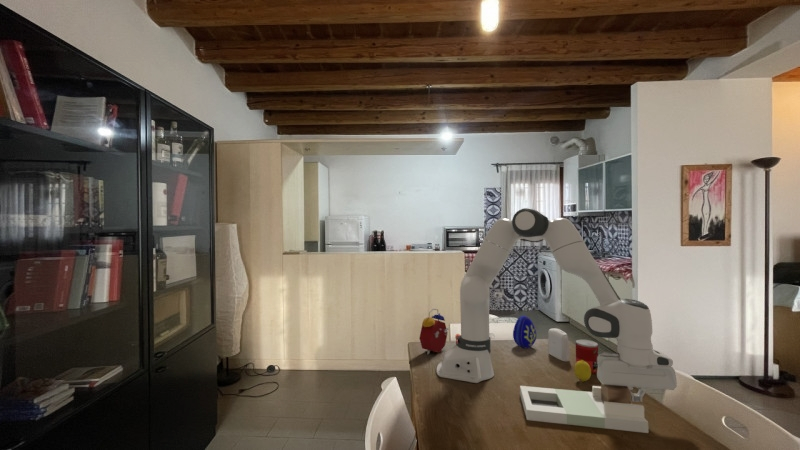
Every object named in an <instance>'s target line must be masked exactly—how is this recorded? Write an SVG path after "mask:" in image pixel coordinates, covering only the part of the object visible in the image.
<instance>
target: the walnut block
mask: <svg viewBox="0 0 800 450" xmlns="http://www.w3.org/2000/svg"><path fill="white" fill-rule="evenodd" d="M600 387H601V399H602V401H603V403H604V402H615V403H626V404H631V403H632V401H631V391H632V390H631V391H630V390H629V389H628V388H627V387H626V386H616V385H604V384H602V383H601V382H600Z"/></svg>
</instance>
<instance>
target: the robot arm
mask: <svg viewBox="0 0 800 450" xmlns="http://www.w3.org/2000/svg"><path fill="white" fill-rule="evenodd" d="M518 241H523V242H530V243H540V242H543V241H545V242H546V243H547V245H548V247H549V250H550V251H551V254H552V256H553V258H554V260H555V262H556V263H557V265H558V266H559V267H560V268H561V270H563V271H564V272H566V273H568V274H571V275H575V276H576V277H579V278H580V279H582V280H583V281H585V282H586V283H587V284H588V286H589V287H590V289H591V292H592V293H593V294H594V296H595V298H596V299H597V301H598V302H599V305H597V306H594V307H591V308H589V309H588V310H587V311H585V313H584V315H583V323H584V326H585V328H586V330H587V332H589V333H590V334H592V335H593V336H595V337H597V338H604V339H616V343H617V344H616V345H617V350H616V351H617V352H601V353H598V356H597V364H598V369H597V373H596V378H597V380H598V381H599V382H600V384H601V383H602V384H604V385H616V386H626V387H627V388H628V389H629V390H630V391H631V402H638V403H643V397H644V396H645V394H647V389H653V390H654V389H655V390H667V391H674V390H675V389H676V388H677V385H678V382H677V374H676V371H675V370H676V369H674V367H673V365H674V361H673V359H672V358H671V357H669V356H668V355H667V354H665V353H663V352H661V351H659V350H656V349H653V348H654V346H653V343H652V335H653V319H652V314H651V310H650V307H649V306H648V305H647V304H646V303H643V302H641V301H639V300H636V299H632V298H631V299H630V298H621V297H620V296H619V295H618V293H617V291H616V290H615V288H614V287H613V285H612V283H611V282H610V280H609V279H608V277H607V275H606V273H605V272H604V270H603V269H602V267H601V266H600V265H599V264H598V262H597V261H596V260H595V258H594V257H593V255H592V254H591V252H590V250H589V248H588V246H587V244H586V242H585V241H584V239H583V237H582V235H581V233H580V232H579V230H578V229H577V228H576V226H575V225H574V223H573V222H572V221H571V220H570V219H568V218H565V217H557V218H554V219H552V220H549V218H548V217H547V216H546V215H544V214H543V213H541V212H540V211H538V210H536V209H534V208H530V207H527V208H525V207H524V208H521V209H519V210H517V211H516V212H515V213H514V214H513V216H512V220H511V219H508V218H499V219H497V220H495V222H494V223H493V225H492V226H491V227H490V229H489V230H488V232H487V233H486V235H485V237H484V239H483V241H482V243H481V244H480V245H479V249H478V251H477V252H476V253H475V256H474V258H473V259H472V261H471V263H470V265H469V267H468V269H467V271H466V273H465V274H464V276H463V278H462V280H461V283H460V287H459V288H460V289H459V301H460V302H459V304H460V334H459V333H457V334H456V335H455V345H454V346H452V347H451V348H449V349H447V350H446V351H445V352H444V354H443V356H442V360H441V361H440V362H439V363H438V364H437V366H436V374H437V376H438V377H440V378H445V379H450V380H456V381H463V382H468V383H474V384H478V383H480V382H482V381H486V380H490V379H492V378H493V377H494V376H495V372H494V368H493V364H492V363H493V362H492V358H491V353H492V352H491V350H492V340H491V337H490V300H491V299H490V296H491V295H490V294H491V293H490V287H491V285H492V284H493V282H494V280H495V279H496V278H497V276H498V274H499V273H500V271H501V270H502V268H503V266H504V265H505V263H506V260H507V259H508V257H509V255H510V253H511V251H512V249H513V248H514V245H515V244H516V243H517V242H518ZM634 388H638V391H637V393H636V392H635V393H633V390H634Z"/></svg>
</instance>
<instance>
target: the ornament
mask: <svg viewBox="0 0 800 450" xmlns="http://www.w3.org/2000/svg"><path fill="white" fill-rule="evenodd" d="M512 330H513V331H512V339H513V341H514V343H515V344H516V345H517V346H519V347H520V348H522V349H529V348H531V347H533V345H534V344H535V342H536V341H537V330H536V327H535V325H534V322H533V321H532V320H531V319H530V318H529V317H528V316H526V315H520V316H519V317H517V320H516V322H515V323H514V327H513V329H512Z"/></svg>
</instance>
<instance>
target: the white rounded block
mask: <svg viewBox="0 0 800 450" xmlns="http://www.w3.org/2000/svg"><path fill="white" fill-rule="evenodd" d="M547 338H548V339H547V345H548V354H549V355H551V356H552V357H553V358H556V359H558V360H559V361H562V362H569V361H570V337H569V335H568V334H567V333H566V332H565V331H563V330H561V328H556V327H555V328H550V329H549V330H548V332H547Z"/></svg>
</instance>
